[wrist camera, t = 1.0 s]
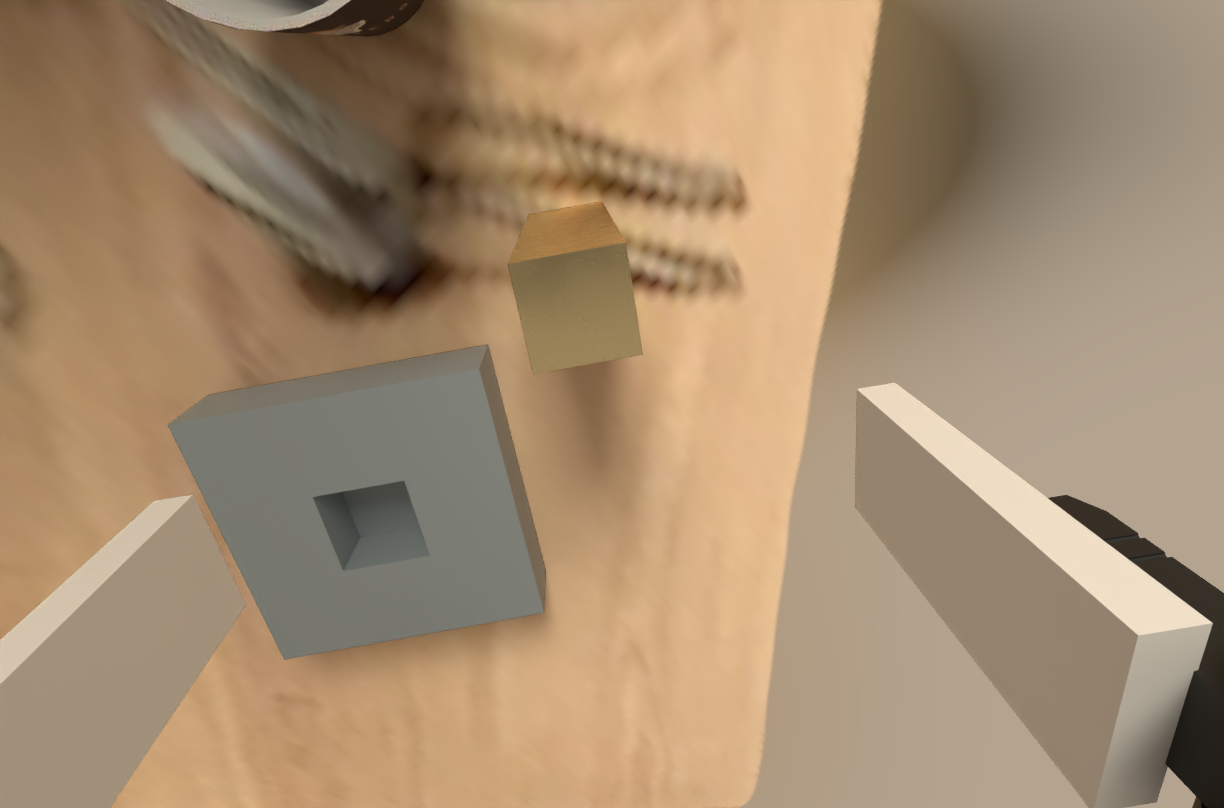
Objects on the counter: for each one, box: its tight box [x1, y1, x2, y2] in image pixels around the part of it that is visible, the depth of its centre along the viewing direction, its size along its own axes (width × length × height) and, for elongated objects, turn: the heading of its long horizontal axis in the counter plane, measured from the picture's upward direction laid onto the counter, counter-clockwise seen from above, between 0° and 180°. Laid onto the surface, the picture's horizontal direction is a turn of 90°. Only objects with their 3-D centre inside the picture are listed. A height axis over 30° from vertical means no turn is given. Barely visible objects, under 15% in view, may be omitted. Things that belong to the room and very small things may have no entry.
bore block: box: [168, 345, 546, 660], centre depth 32 cm, size 14×14×4 cm
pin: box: [508, 201, 643, 374], centre depth 24 cm, size 3×3×12 cm
